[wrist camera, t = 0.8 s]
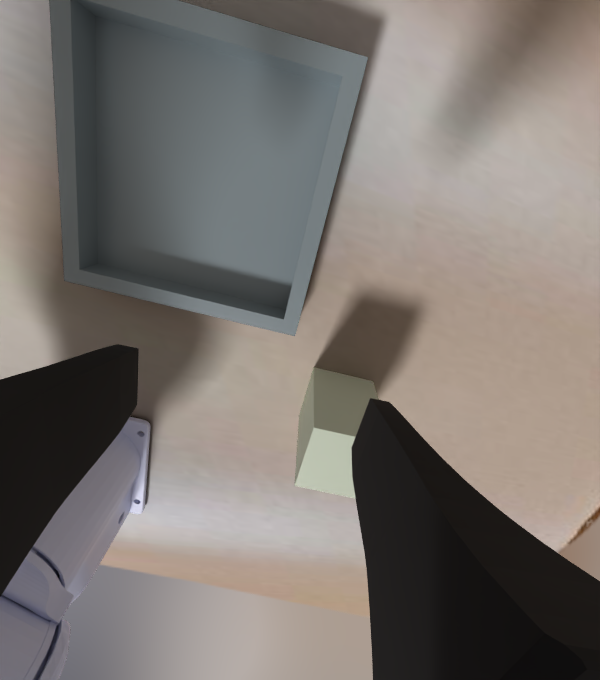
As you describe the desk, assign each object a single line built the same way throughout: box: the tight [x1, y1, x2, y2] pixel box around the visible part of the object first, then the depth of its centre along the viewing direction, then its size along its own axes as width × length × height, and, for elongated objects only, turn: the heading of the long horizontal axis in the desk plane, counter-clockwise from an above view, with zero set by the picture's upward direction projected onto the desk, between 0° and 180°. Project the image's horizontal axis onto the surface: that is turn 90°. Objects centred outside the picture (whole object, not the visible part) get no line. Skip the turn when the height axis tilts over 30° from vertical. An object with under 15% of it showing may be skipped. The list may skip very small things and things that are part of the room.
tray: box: [49, 0, 368, 336], centre depth 16 cm, size 12×12×2 cm
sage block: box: [295, 367, 379, 499], centre depth 20 cm, size 4×4×6 cm
